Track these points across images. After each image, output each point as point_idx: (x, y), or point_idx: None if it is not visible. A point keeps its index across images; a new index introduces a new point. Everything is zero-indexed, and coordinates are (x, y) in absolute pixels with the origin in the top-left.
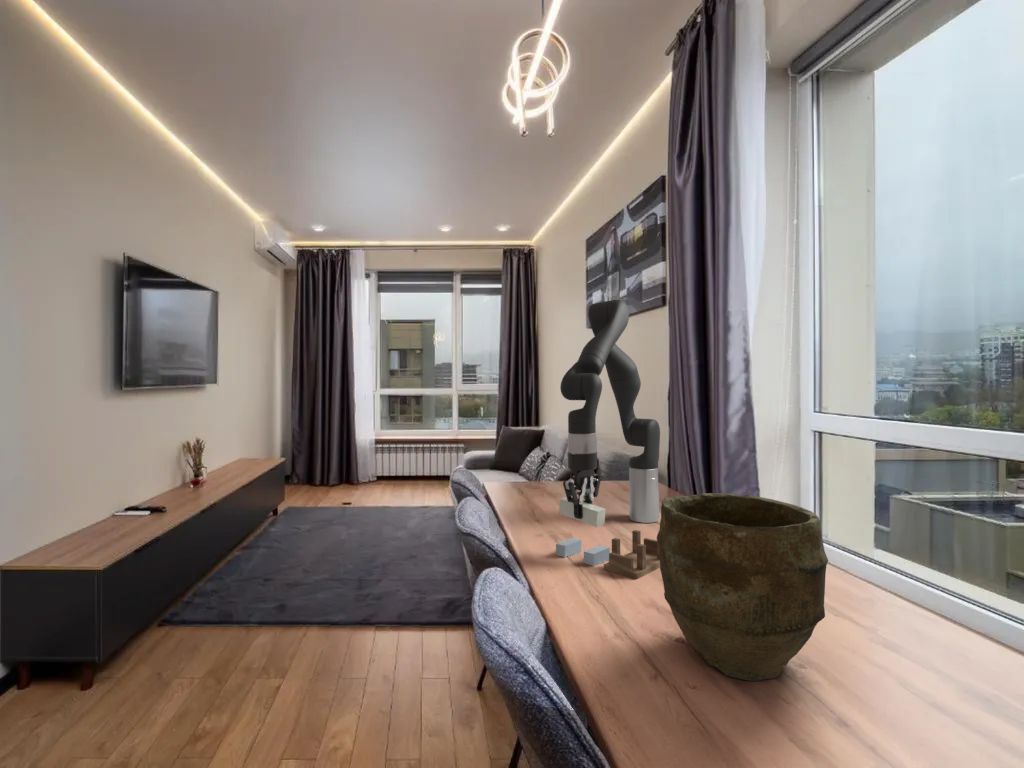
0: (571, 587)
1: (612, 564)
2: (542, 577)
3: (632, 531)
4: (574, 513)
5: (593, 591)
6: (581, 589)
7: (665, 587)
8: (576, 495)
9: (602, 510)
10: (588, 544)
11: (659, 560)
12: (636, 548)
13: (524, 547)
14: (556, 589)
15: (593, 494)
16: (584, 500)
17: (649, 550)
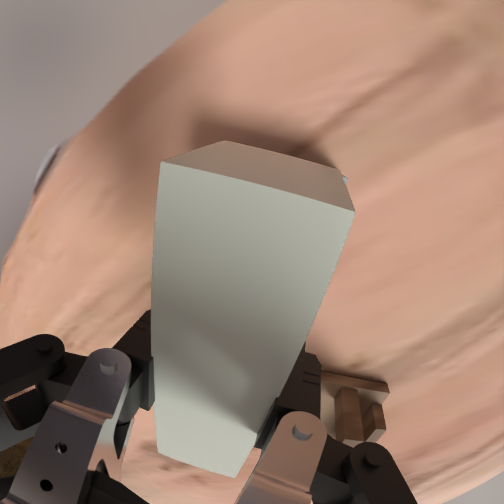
0: (63, 292)
1: None
2: (62, 208)
3: (344, 438)
4: (142, 320)
5: (78, 335)
6: (70, 313)
7: (4, 450)
8: (34, 431)
9: (204, 466)
10: (421, 214)
11: None
12: (335, 407)
13: (255, 3)
14: (41, 267)
15: (316, 495)
16: (282, 409)
17: (363, 417)
